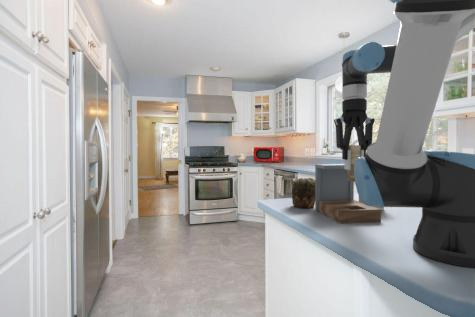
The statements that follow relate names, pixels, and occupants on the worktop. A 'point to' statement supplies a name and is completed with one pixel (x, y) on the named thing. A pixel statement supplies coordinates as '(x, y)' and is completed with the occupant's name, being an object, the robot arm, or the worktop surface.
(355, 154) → the peg
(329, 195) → the grey open drawer
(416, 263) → the worktop surface
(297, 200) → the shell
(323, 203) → the socket block
